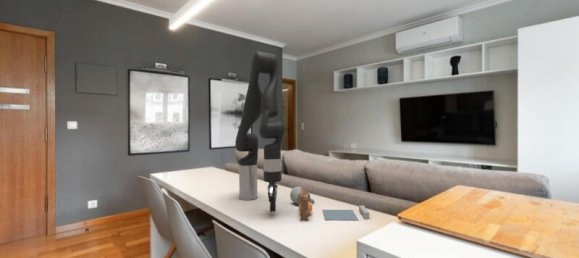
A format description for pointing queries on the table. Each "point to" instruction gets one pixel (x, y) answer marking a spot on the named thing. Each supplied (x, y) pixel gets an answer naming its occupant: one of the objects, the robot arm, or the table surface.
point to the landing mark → (339, 215)
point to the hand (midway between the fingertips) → (272, 211)
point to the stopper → (364, 212)
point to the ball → (308, 207)
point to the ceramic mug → (298, 195)
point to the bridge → (303, 204)
